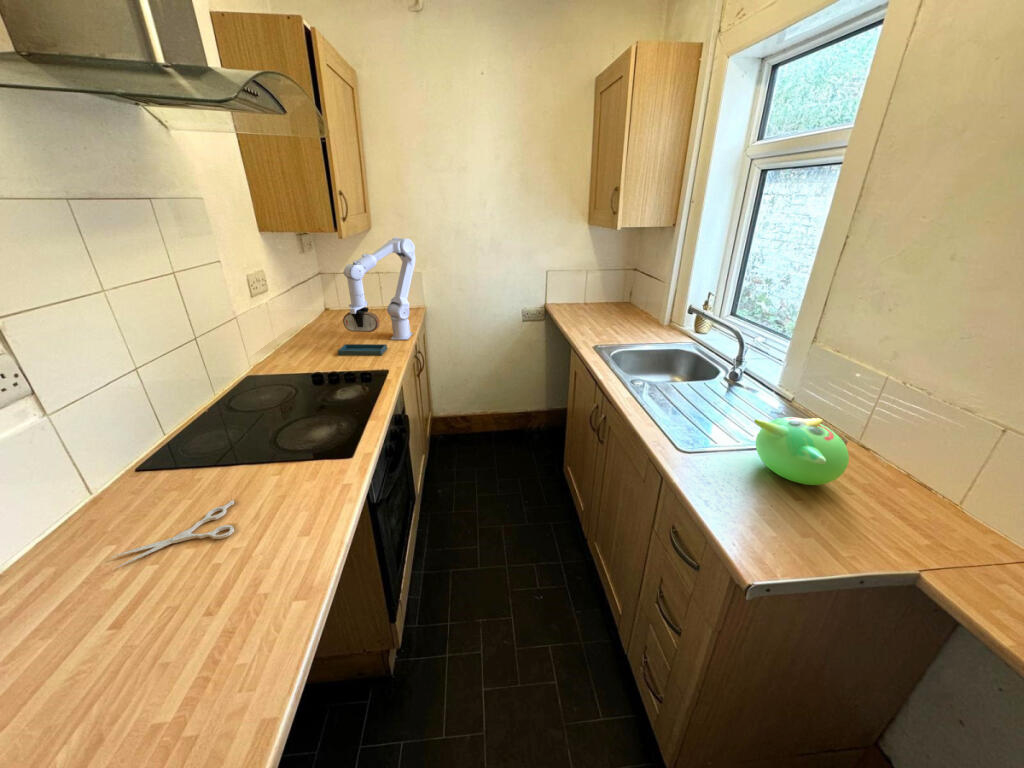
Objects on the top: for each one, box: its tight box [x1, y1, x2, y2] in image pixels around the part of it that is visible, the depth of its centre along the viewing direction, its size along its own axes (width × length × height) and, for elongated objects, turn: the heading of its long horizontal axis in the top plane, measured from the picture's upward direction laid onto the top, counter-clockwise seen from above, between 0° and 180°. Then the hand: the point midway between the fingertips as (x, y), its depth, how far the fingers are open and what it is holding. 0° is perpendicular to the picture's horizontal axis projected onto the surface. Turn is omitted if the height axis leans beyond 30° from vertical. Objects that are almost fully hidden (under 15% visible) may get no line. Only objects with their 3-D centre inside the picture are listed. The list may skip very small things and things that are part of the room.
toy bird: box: [753, 416, 850, 486], centre depth 95 cm, size 18×17×15 cm
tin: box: [342, 311, 381, 333], centre depth 177 cm, size 15×3×8 cm, turn 88°
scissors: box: [111, 499, 235, 570], centre depth 80 cm, size 11×1×20 cm
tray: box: [337, 343, 388, 357], centre depth 175 cm, size 8×18×2 cm, turn 89°
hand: (361, 326), depth 178 cm, fingers closed on tin, 2 cm apart
